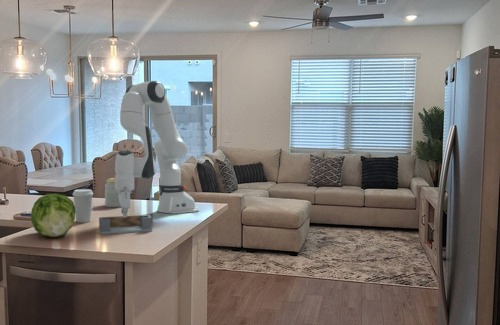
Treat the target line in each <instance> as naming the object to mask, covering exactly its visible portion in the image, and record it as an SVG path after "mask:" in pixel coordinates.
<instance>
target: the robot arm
mask: <svg viewBox="0 0 500 325" xmlns="http://www.w3.org/2000/svg"><path fill="white" fill-rule="evenodd" d="M170 104H171V103H170V102H169V100H168V97H167V95H166V89H165V86H164V85H163V83H162V82H161V81H157V80H151V81H144V82H143V81H142V82H141V83H140V82H139V83H137V84H132V85H130V86H128V87H127V88H126V90H125V93H124V94H123V96H122V100H121V104H120V112H119V121H120V122H119V123H120V125H121V127H122V128H123V129H124V130H125V131H126V132H128V133H130V134H133V135H135V136H138V137H139V138H141V140H142V141H143V142H142V143H143V150H144V157H134V156H135V155H134V152H133V151H130V150H120V151H117V152H116V156H115V163H114V172H115V175H116V177H115V190H118V197H119V203H120V205H121V214H122V216H123V217H127V216H128V212H129V209H131V194H132V191H134V190H135V178H142V179H148V180H150V179H151V178H153V177H154V176H155V175H156V170H157V164H156V161H155V155H156V157H157V158H156V159H157V161H158V167H159V185H158V186H159V187H158V194H159V200H158V205H157V210H156V212H159V213H167V214H174V215H175V214H184V213H196V212H200V208H199V207H198V206H196V203H195V200H194V198H193V197H192V196H191V195H190V194H189V193H187V192H185V191H186V190H187V188H188V187H187V186H186V185H183V184H181V183H182V182H181V181H182V171H181V167H180V166H179V163H178V160H182V159H183V158H185V157H186V155H187V154H188V146H187V144H186V142H185V141H184V140H183V138H182V136H181V135H180V132H179V131H178V128H177V125H176V122H175V120H174V119H175V118H174V114H173V110H172V107H171V105H170ZM145 105H147V106H148V107H149V108H148V109H149V113H150V117H151V120H152V124H153V128H154V131H155V132H156V133H157V136H158V137H159V139H158V140H156V142H155V143H154V145H153V140H152V133H151V129H150V126H149V125H148V124H146V122H145V120H144V106H145ZM154 153H155V154H154Z"/></svg>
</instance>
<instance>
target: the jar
mask: <svg viewBox="0 0 500 325" xmlns="http://www.w3.org/2000/svg"><path fill="white" fill-rule="evenodd" d="M115 177H116V174H114V176H113V177H111V178H108V179H107V180H106V181H105V182H106V183H105V184H104V188H105V190H104V206H105V207H108V208H120V207H121V205H120V203H119V197H118V190H115Z"/></svg>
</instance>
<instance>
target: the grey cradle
mask: <svg viewBox="0 0 500 325" xmlns="http://www.w3.org/2000/svg"><path fill="white" fill-rule="evenodd" d="M109 217H110V216H102V217H99V218H98V227H99V228H98V230H99V232H98V233H99V234H100V235H109V234H110V235H111V234H124V233H125V234H126V233H127V234H128V233H142V232H144V233H146V232H152V231H153V226H152V224H153V222H152V220H153V219H152V216H151V215H150V214H141V215H140V224H139V225H137V226H136V225H135V226H121V227H120V226H118V227H111V226H110V219H109Z"/></svg>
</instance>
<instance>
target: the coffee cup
mask: <svg viewBox="0 0 500 325" xmlns="http://www.w3.org/2000/svg"><path fill="white" fill-rule="evenodd" d="M93 195H94V192H93V191H92V189H89V188H86V189H85V188H81V189H80V188H79V189H75V190H73V192H72V196H73V203H74V206H75V222H76V223H78V224H79V223H83V224H84V223H85V224H86V223H89V222H91V220H92V219H91V218H92V205H93Z"/></svg>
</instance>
